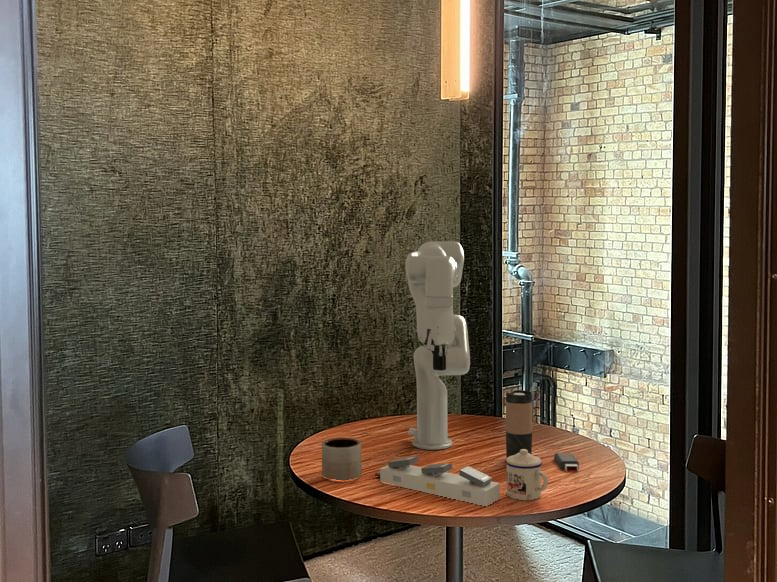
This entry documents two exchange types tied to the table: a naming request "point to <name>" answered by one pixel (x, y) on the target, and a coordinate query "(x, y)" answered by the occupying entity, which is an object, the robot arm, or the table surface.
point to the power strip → (441, 484)
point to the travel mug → (518, 422)
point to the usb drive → (566, 461)
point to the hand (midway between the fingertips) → (439, 369)
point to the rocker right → (475, 476)
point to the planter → (341, 458)
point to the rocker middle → (436, 468)
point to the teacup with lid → (525, 476)
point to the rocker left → (403, 461)
